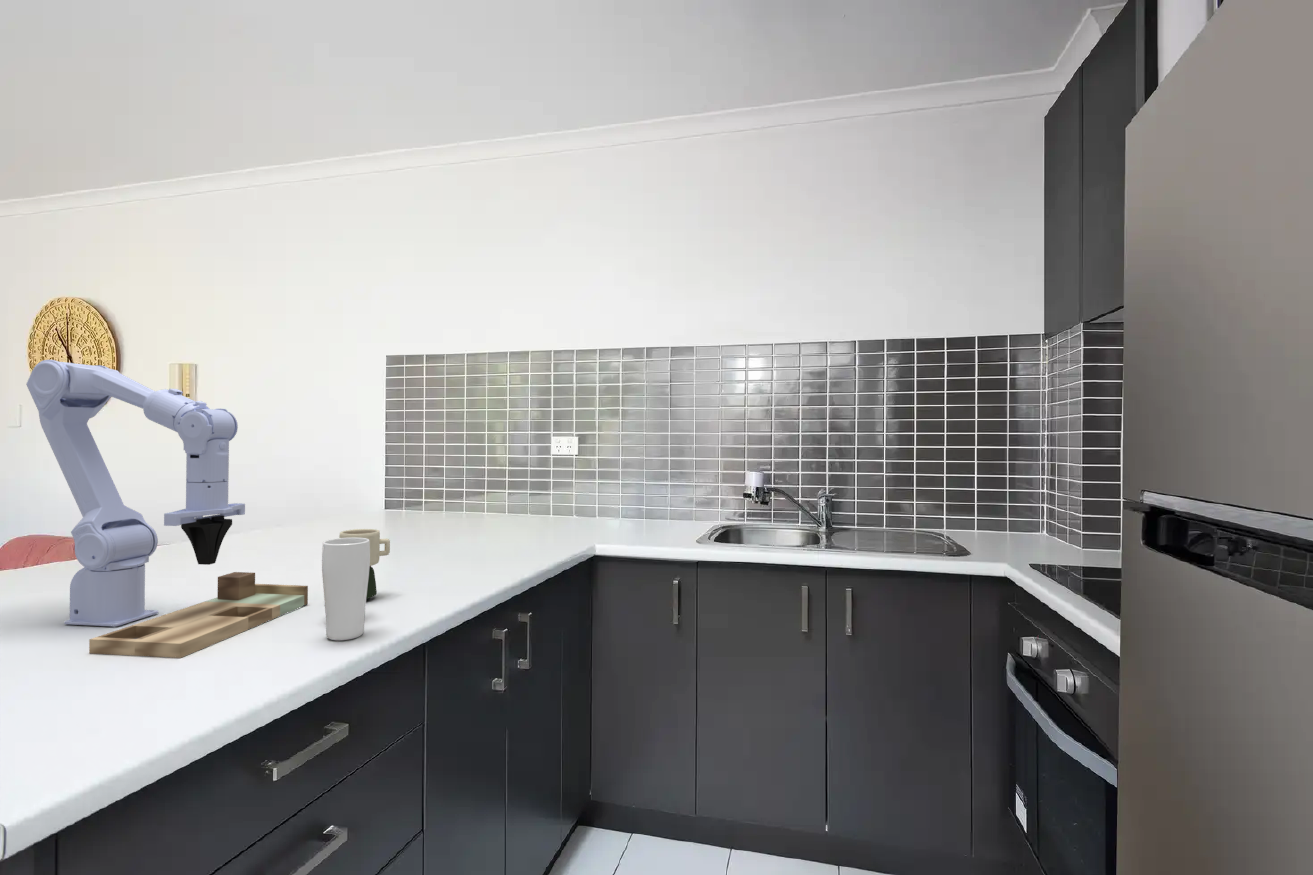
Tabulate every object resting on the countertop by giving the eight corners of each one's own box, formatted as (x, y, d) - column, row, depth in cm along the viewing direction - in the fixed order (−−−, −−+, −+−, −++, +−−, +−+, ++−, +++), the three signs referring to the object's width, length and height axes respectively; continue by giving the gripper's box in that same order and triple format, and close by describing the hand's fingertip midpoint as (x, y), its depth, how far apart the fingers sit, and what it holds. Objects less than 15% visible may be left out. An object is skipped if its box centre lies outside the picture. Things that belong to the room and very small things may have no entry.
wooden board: (89, 653, 90) (89, 628, 90) (236, 601, 118) (236, 583, 118) (180, 657, 89) (180, 633, 89) (307, 604, 117) (307, 585, 117)
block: (217, 599, 112) (217, 576, 112) (234, 593, 116) (234, 571, 116) (238, 600, 112) (238, 577, 112) (254, 594, 116) (255, 572, 116)
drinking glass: (378, 632, 101) (379, 539, 101) (345, 645, 95) (346, 545, 95) (345, 627, 104) (346, 536, 104) (310, 640, 97) (311, 542, 97)
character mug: (384, 591, 127) (385, 526, 127) (393, 599, 121) (394, 531, 121) (324, 599, 121) (325, 531, 121) (330, 607, 115) (331, 536, 115)
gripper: (194, 485, 97) (193, 574, 97) (261, 478, 111) (260, 556, 112) (151, 484, 98) (150, 572, 98) (224, 478, 112) (223, 554, 112)
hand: (206, 563), depth 105 cm, fingers closed
